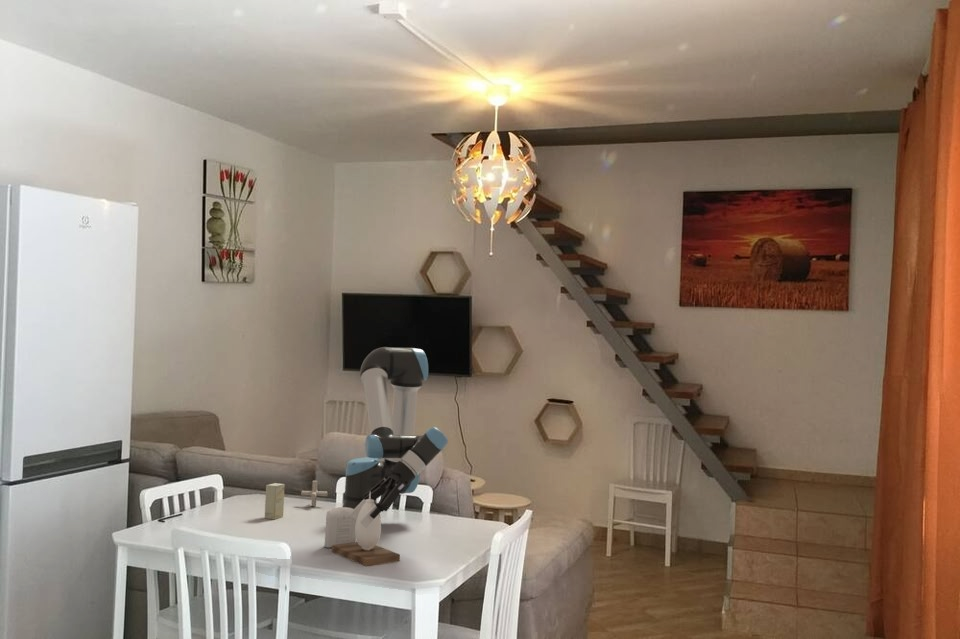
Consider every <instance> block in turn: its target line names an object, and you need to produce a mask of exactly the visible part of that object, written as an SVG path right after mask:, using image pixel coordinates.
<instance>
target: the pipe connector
mask: <svg viewBox="0 0 960 639" xmlns="http://www.w3.org/2000/svg"><path fill="white" fill-rule="evenodd" d="M300 494H301V496H307V497H308V496H309V497H310V498H311V504H310V505H311V506H316V507H317V497H328V491H326V490H325V491H323V490H321V491H320V490H319V491H318V480H312V488H311V490H301V493H300Z"/></svg>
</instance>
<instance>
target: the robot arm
mask: <svg viewBox="0 0 960 639" xmlns="http://www.w3.org/2000/svg"><path fill="white" fill-rule="evenodd" d="M359 376H360V378H359V379H360V382H361V384H362V385H363V386H364V394H365V403H366V408H367V417H368V424H369V431H370V434H368V435H366V438H365V442H364V445H365V446H364V447H365V449H364V450H365V451H364V452H365V455H366V456H365V457H357V458H354V459H350V460H349V461H348V462H347V464H346V467H345V468H346V469H345V474H344V475H345V483H344V484H345V485H344V501H343V504H342V506H341V507H348V508H352V509H354V510H353V511H352V512H351V513H350V514H349V515H350V516H351V517H352V518H353V519H354V520H355V521H356V520H357V517H358V514H359V512H360V510H361V508H362V506H363V505H364V503H365V500H366V499H369V493H370V492H371V499H373V500H374V503H375V505H376V506H374V507H373V508H372V509H371V510H370V511H369V512H368V513H367V514H366V515H365V516H364V517H363V518H362V519H361V520H360V522H361V523H362V525H363V526H364V527H365V528H366V527H367V526H368V525H369V524H370V523H371V522H372V521H373V520H374V519H375V518H376V517H377V516H378V515H379V514H380V515H381V514H382V513H381V512H387V511H388V510H389V509H390V507H391V506H393V503H395V501H396V500H397V499H398V497H399V495H400V494H401V495H404V494H411V493H414V492H415V491H416V489H417V488H418V485H419V481H420V477H421V473H423V472H424V469H425V468H426V467H427V466H428V465H429V464H430V462H432V461H433V460H434V459H435V457H437V455H439V453H441V451H443V450H444V448H445V447H446V446H447V444H448V443H449V442H448V441H449V440H448V438H447V436H446V435H445V434H444V433H443V432H442V431H441V430H440V429H439V428H437V427H435V426H432V427H430V428H429V429H428V430H426V431H425V433H424V434H422V435H421V434H420V435H419V434H418V435H416V434H415V426H416V414H417V401H418V391H419V390H420V389H421V388H422V387H423V382H425V381H427V380H428V378H429V377H428V376H429V362H428V358H427V355H426V353H425V351H424V350H423V349H421V348H415V347H388V346H383V347H378V348H375V349H373V350H372V351H371V352H370V353H368V355H367V356H366V357H365V358H364V360H363V361H362V364H361V366H360V371H359ZM389 380H390V382H389V383H390V386H392V388H393V399H392V412H391V408H390V402H389V396H388V389H387V381H389ZM391 413H392V414H391ZM379 459H380V460H381V459H384V460H382V461H380V460H379ZM381 496H382V497H381ZM380 497H381V498H380ZM378 498H380V499H379V501H377V500H378ZM380 519H381V516H380Z"/></svg>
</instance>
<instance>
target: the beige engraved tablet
mask: <svg viewBox="0 0 960 639" xmlns="http://www.w3.org/2000/svg"><path fill="white" fill-rule="evenodd" d="M353 510H354V509H352V508H348V507H342V506H341V507H340V506H339V507H334V508H331V509H328V510H327V511H326V514H325V515H326V517H325V531H324V548H329V549H330V548H332V545H337V544H345V543H352V542H357V540H356V535H355V527H356V521H357V520H356V521H355V520H354V519H353V518H352V517H351V516H350V515H349V514H350V513H351V512H352V511H353Z"/></svg>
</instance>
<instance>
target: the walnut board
mask: <svg viewBox="0 0 960 639" xmlns="http://www.w3.org/2000/svg"><path fill="white" fill-rule="evenodd" d="M331 552H332V553H334V554H336V555H339V556H340V557H343V558H346V559H347V560H350V561H352V562H356V563H358V564H360V565H362V566H363V567H364V566H365V567H369V566H370V567H371V566H376V565H378V566H379V565H383V564H389V563H397V562H400V561H401V554H400V553H397V552H395V551H392V550H389V549H387V548H385V547H382V546H379V545H376V546H374V547H373V549H370V550H364V549H362V548H361V546H359V545H358V542H357V541H356V542H352V543H345V544H337V545H332V547H331Z"/></svg>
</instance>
